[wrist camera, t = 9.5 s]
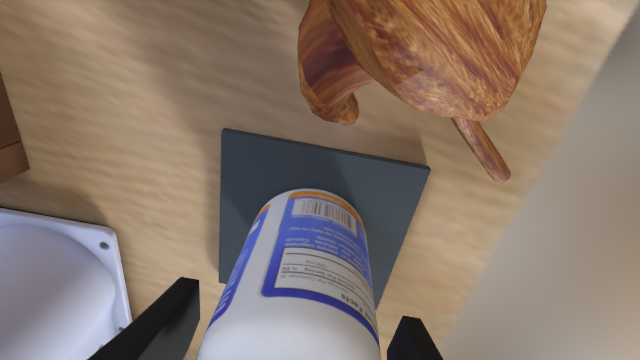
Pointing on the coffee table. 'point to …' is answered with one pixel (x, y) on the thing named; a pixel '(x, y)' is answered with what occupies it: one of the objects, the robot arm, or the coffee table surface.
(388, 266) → the mat
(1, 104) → the rack
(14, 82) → the coffee table surface
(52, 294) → the robot arm
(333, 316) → the pill bottle
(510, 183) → the coffee table surface
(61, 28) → the coffee table surface
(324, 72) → the cat figurine
